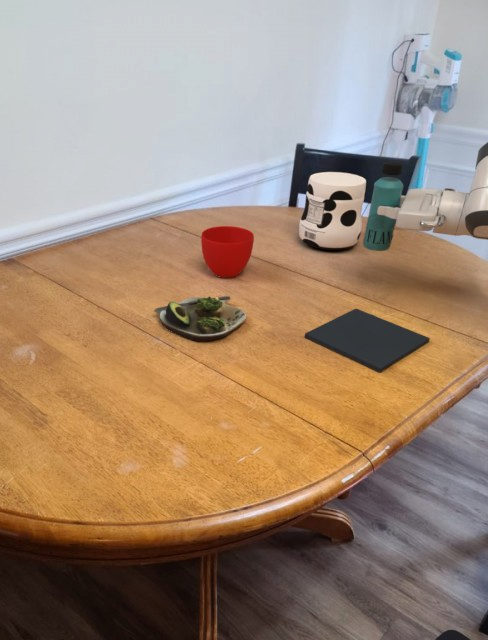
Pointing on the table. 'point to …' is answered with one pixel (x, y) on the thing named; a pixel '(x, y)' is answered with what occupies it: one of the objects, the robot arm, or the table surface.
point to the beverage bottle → (383, 194)
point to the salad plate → (201, 318)
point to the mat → (367, 339)
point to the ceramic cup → (226, 249)
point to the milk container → (332, 210)
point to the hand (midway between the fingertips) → (380, 204)
